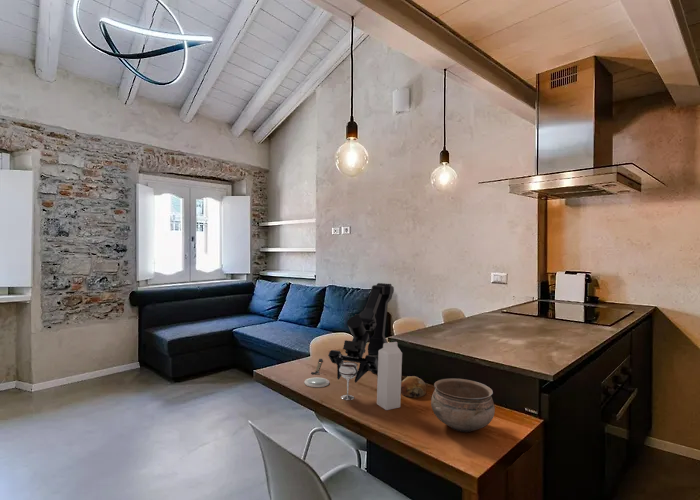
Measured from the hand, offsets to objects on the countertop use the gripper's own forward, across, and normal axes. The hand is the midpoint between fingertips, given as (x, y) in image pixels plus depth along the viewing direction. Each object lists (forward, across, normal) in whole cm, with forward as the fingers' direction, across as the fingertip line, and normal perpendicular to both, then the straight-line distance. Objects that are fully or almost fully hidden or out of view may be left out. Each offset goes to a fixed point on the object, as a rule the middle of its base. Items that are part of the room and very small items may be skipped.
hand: (346, 380), depth 140 cm
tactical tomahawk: (-16, -25, +26) cm, 39 cm away
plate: (-2, -17, +12) cm, 21 cm away
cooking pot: (+8, +41, +2) cm, 42 cm away
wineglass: (+4, 0, +6) cm, 7 cm away
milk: (+4, +16, +6) cm, 17 cm away
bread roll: (-7, +20, +17) cm, 28 cm away
